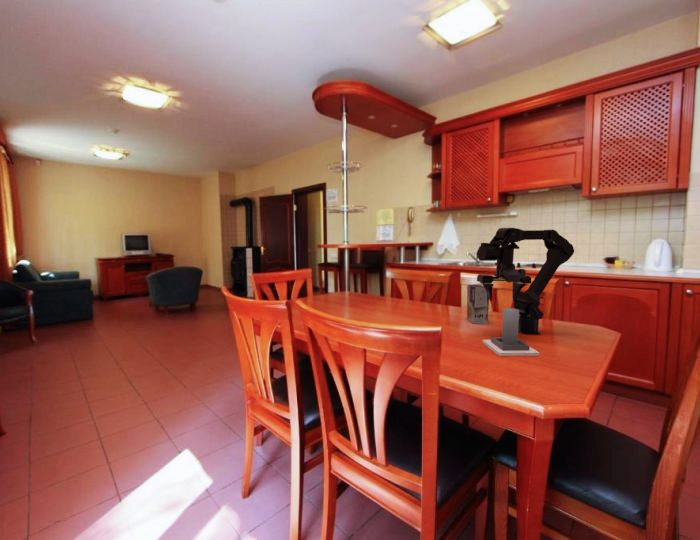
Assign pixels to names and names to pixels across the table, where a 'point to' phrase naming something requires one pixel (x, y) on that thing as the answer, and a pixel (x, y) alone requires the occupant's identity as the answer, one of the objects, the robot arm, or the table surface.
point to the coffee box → (477, 304)
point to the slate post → (510, 326)
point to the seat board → (510, 348)
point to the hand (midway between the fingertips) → (502, 300)
